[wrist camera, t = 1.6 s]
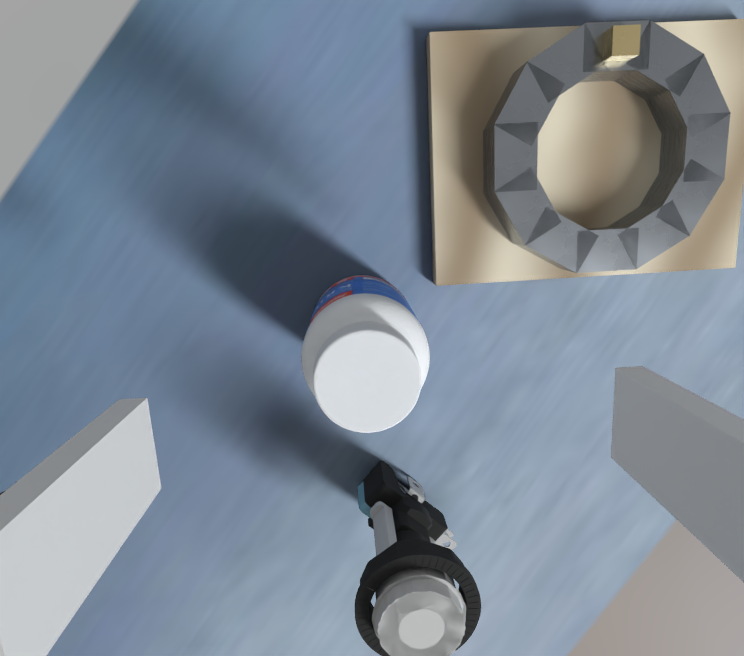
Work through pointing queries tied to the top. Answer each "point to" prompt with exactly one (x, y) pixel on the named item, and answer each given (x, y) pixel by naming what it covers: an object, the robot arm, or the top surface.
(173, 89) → the top surface
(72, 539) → the robot arm
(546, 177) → the board
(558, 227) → the ring
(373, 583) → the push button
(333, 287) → the pill bottle
